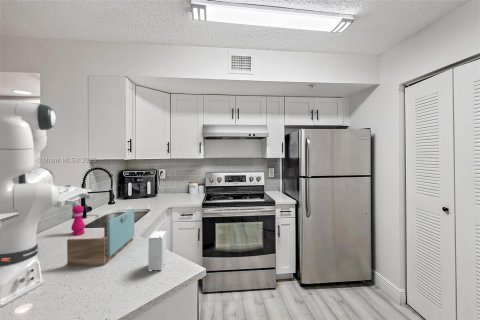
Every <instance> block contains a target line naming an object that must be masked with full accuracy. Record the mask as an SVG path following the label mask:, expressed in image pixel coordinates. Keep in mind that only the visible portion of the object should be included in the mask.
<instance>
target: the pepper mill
mask: <svg viewBox="0 0 480 320" xmlns="http://www.w3.org/2000/svg"><path fill="white" fill-rule="evenodd" d="M84 209H85V207H84V206H82V205H80V203H78V204H77V205H75V206H74V207H72V213H73V219H74V220H73V223H72V225H71V231H72V232H71V233H72V236H73V237H74V236H77V237H78V236H81V235H84V234H85V228H86V225H85V222H84V219H83V215H84V213H83V212H84Z"/></svg>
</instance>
